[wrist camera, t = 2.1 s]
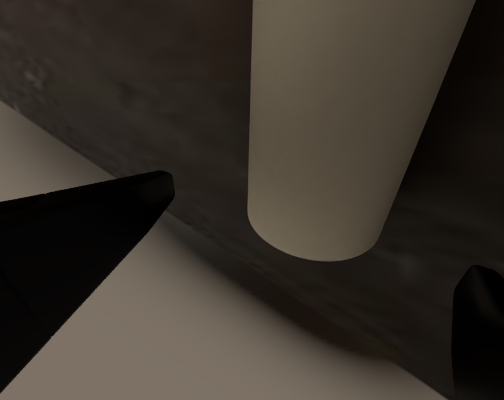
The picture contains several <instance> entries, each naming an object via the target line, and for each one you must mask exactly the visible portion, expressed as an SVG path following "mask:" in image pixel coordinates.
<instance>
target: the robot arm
mask: <svg viewBox="0 0 504 400" xmlns="http://www.w3.org/2000/svg"><path fill="white" fill-rule="evenodd" d="M174 196H175V190H174V184H173V178H172V175H171V174H170V173H168V172H165V171H161V170H158V171H153V172H148V173H143V174H138V175H133V176H129V177H124V178H119V179H114V180H109V181H104V182H99V183H94V184H89V185H85V186H79V187H74V188H69V189H64V190H59V191H54V192H49V193H46V194H39V195H34V196H29V197H24V198H19V199H13V200H8V201H2V202H0V393H1V392H2V391H3V390H4V389H5V388H6V387H7V386H8V385H9V383H10V382H11V381H12V380H13V379H14V378H15V377H16V376H17V375H18V374H19V373H20V371H21V370H22V369H23V368H24V367H25V366H26V365H27V364H28V363H29V362H30V361H31V359H32V358H33V357H34V356H35V355H36V354H37V353H38V352H39V351H40V350H41V349H42V347H43V346H44V345H45V344H46V343H47V342H48V341H49V340H50V339H51V336H53V335H54V334H55V333H56V332H57V331H58V330H59V329H60V327H61V326H62V325H63V324H64V323H65V322H66V321H67V320H68V319H69V318H70V317H71V316H72V314H73V313H74V312H75V311H76V310H77V309H78V308H79V307H80V306H81V305H82V303H83V302H84V301H85V300H86V299H87V298H88V297H89V296H90V295H91V294H92V293H93V292H94V291H95V289H96V288H97V287H98V286H99V285H100V284H101V283H102V282H103V280H104V279H106V277H107V276H108V275H109V274H110V273H111V272H112V271H113V270H114V269H115V268H116V267H117V265H118V264H119V263H120V262H121V261H122V260H123V259H124V258H125V257H126V256H127V255H128V253H129V252H130V251H131V250H132V249H133V248H134V247H135V246H136V245H137V244H138V242H140V240H141V239H142V238H143V237H144V236H145V235H146V234H147V233H148V232H149V230H150V229H151V228H152V227H153V225H154V224H155V223H156V221H157V220H158V219H159V217H160V216H161V215H162V213H163V212H164V211H165V209H166V208H167V207H168V205H169V204H170V203H171V201H172V200H173V198H174ZM451 354H452V368H453V379H454V390H455V400H504V278H503V277H502V276H501V275H500V274H499V273H497V272H496V271H495V270H492V269H489V268H486V267H482V266H479V265H473V266H471V267H470V268H469V269H468V270H467V272H466V273H465V275H464V276H463V277H462V279H461V280H460V281H459V283H458V284H457V286H456V287H455V290H454V296H453V319H452V342H451Z"/></svg>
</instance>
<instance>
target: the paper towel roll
mask: <svg viewBox="0 0 504 400" xmlns="http://www.w3.org/2000/svg"><path fill="white" fill-rule="evenodd" d="M475 1H476V0H253V22H252V60H251V99H250V137H249V175H248V217H249V220H250V223H251V225H252V227H253V228H254V230H255V231H256V232H257V233H258V234H259V236H260V237H262V238H263V239H264V240H265V241H266V242H268V243H269V244H271V245H272V246H273V247H275V248H277V249H279V250H281V251H283V252H286V253H288V254H290V255H293V256H297V257H300V258H304V259H309V260H316V261H340V260H345V259H350V258H353V257H356V256H359V255H361V254H363V253H365V252H366V251H368V250H369V249H370V248H371V247H372V246H373V245H374V244H375V243H376V242H377V240H378V238H379V235H380V233H381V231H382V228H383V226H384V223H385V221H386V218H387V216H388V214H389V211H390V209H391V206H392V204H393V201H394V199H395V196H396V194H397V192H398V189H399V187H400V184H401V182H402V179H403V177H404V174H405V172H406V170H407V167H408V165H409V162H410V160H411V157H412V155H413V152H414V150H415V148H416V145H417V143H418V140H419V138H420V135H421V133H422V130H423V128H424V126H425V123H426V121H427V118H428V116H429V113H430V111H431V109H432V106H433V104H434V101H435V99H436V96H437V94H438V91H439V89H440V87H441V84H442V82H443V79H444V77H445V74H446V72H447V69H448V67H449V65H450V62H451V60H452V57H453V55H454V52H455V50H456V47H457V45H458V43H459V40H460V38H461V35H462V33H463V30H464V28H465V26H466V23H467V21H468V18H469V16H470V13H471V11H472V8H473V6H474V4H475Z"/></svg>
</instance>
